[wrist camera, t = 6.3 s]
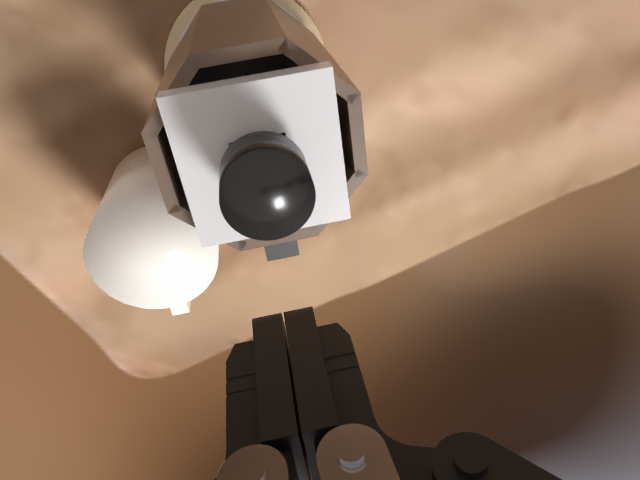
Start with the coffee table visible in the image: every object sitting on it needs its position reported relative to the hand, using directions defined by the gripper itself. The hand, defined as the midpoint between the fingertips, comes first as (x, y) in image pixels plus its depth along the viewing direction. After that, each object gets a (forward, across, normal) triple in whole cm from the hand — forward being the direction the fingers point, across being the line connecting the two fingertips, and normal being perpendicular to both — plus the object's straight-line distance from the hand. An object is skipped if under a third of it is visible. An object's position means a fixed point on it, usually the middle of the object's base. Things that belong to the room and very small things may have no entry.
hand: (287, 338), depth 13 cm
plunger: (+25, 0, 0) cm, 25 cm away
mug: (+27, +8, +8) cm, 30 cm away
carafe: (+27, 0, 0) cm, 27 cm away
